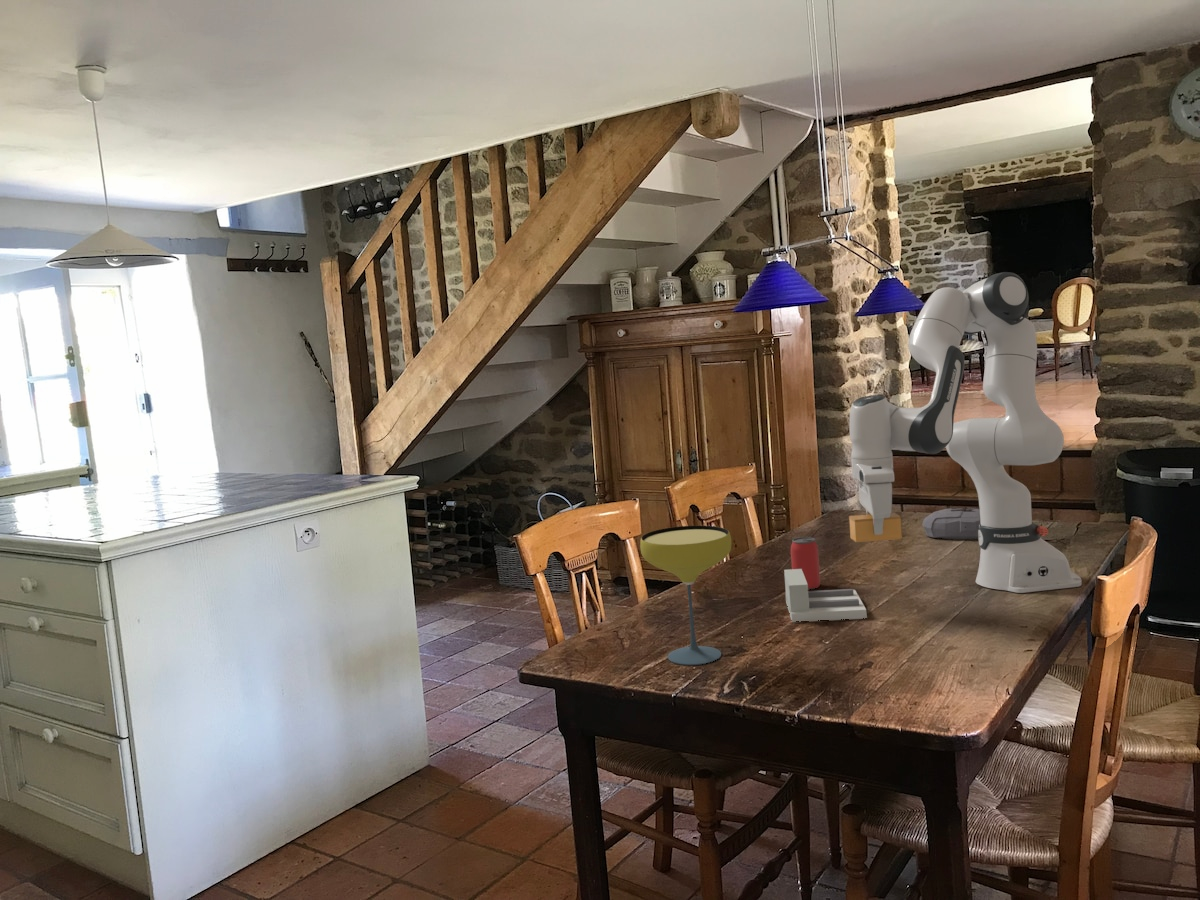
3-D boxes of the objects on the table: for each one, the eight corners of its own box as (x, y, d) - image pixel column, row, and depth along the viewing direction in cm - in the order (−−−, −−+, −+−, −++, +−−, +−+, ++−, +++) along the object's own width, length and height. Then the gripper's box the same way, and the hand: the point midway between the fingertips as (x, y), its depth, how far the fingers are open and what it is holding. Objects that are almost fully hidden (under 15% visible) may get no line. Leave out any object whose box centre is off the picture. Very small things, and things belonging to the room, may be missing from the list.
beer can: (820, 590, 229) (817, 541, 227) (793, 591, 230) (789, 543, 229) (819, 583, 235) (816, 536, 234) (793, 583, 236) (790, 537, 235)
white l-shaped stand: (855, 598, 219) (853, 564, 218) (866, 618, 204) (864, 582, 203) (786, 601, 221) (783, 568, 220) (791, 622, 206) (789, 586, 205)
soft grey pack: (996, 530, 275) (925, 530, 283) (995, 502, 274) (923, 503, 282) (995, 542, 261) (920, 541, 270) (994, 512, 260) (918, 513, 269)
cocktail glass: (738, 671, 179) (728, 542, 176) (644, 673, 182) (633, 547, 179) (740, 640, 197) (732, 523, 194) (655, 642, 200) (645, 527, 197)
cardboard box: (895, 534, 211) (894, 512, 211) (901, 538, 206) (900, 516, 206) (850, 537, 212) (849, 516, 211) (856, 542, 207) (854, 519, 206)
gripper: (850, 464, 218) (853, 522, 220) (865, 476, 198) (868, 541, 199) (878, 462, 217) (881, 521, 219) (896, 475, 197) (899, 539, 199)
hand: (875, 531), depth 209 cm, fingers closed on cardboard box, 5 cm apart
